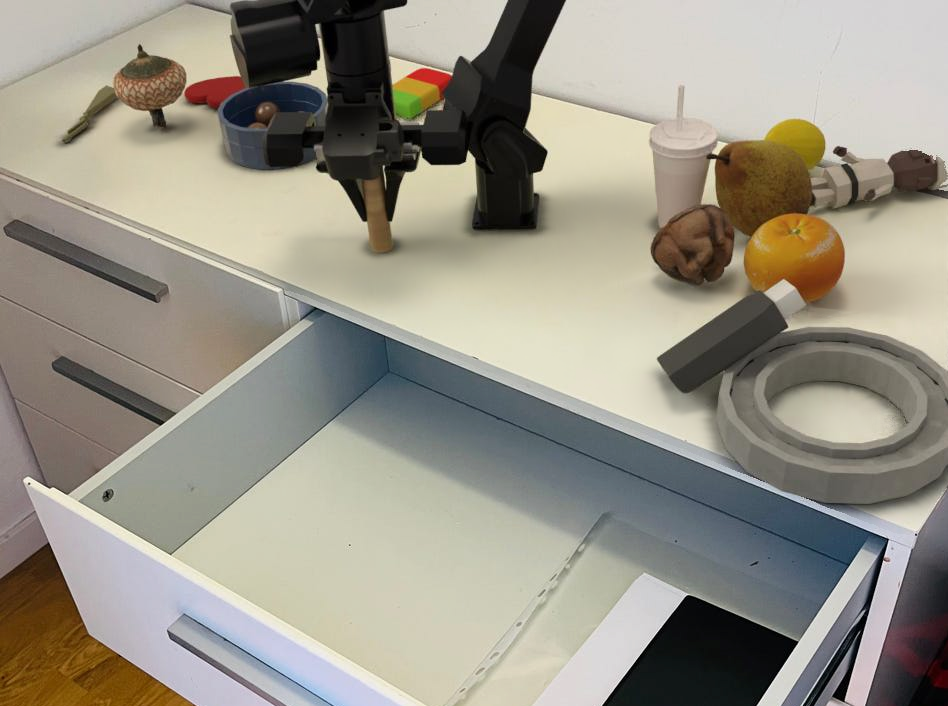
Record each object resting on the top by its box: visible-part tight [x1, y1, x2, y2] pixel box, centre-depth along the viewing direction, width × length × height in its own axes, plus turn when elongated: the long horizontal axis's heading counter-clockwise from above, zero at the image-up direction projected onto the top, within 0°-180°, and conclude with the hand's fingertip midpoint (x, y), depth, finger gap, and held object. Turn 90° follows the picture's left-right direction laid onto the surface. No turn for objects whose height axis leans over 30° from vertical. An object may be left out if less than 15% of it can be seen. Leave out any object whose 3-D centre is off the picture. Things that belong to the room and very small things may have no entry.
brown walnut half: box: [650, 203, 736, 287], centre depth 106 cm, size 8×8×5 cm
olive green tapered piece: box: [61, 85, 118, 144], centre depth 140 cm, size 12×3×1 cm, turn 156°
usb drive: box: [656, 279, 807, 394], centre depth 95 cm, size 5×12×3 cm
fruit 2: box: [706, 139, 812, 238], centre depth 110 cm, size 9×9×12 cm
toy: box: [810, 145, 948, 210], centre depth 116 cm, size 8×5×15 cm
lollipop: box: [183, 75, 246, 110], centre depth 145 cm, size 8×1×15 cm
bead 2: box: [255, 102, 281, 127], centre depth 134 cm, size 3×3×3 cm
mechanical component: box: [715, 326, 948, 505], centre depth 92 cm, size 18×18×3 cm
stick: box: [361, 169, 394, 254], centre depth 113 cm, size 2×2×9 cm
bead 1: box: [248, 123, 267, 129], centre depth 130 cm, size 3×3×3 cm
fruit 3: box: [743, 213, 846, 304], centre depth 104 cm, size 8×8×8 cm
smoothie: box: [648, 84, 719, 230], centre depth 111 cm, size 6×6×14 cm
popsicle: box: [392, 67, 452, 120], centre depth 137 cm, size 6×15×2 cm, turn 144°
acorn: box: [112, 43, 187, 130], centre depth 134 cm, size 8×8×10 cm
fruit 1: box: [763, 118, 826, 171], centre depth 120 cm, size 6×6×8 cm
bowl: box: [216, 81, 328, 170], centre depth 132 cm, size 12×12×4 cm
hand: (378, 219), depth 114 cm, fingers closed on stick, 2 cm apart
